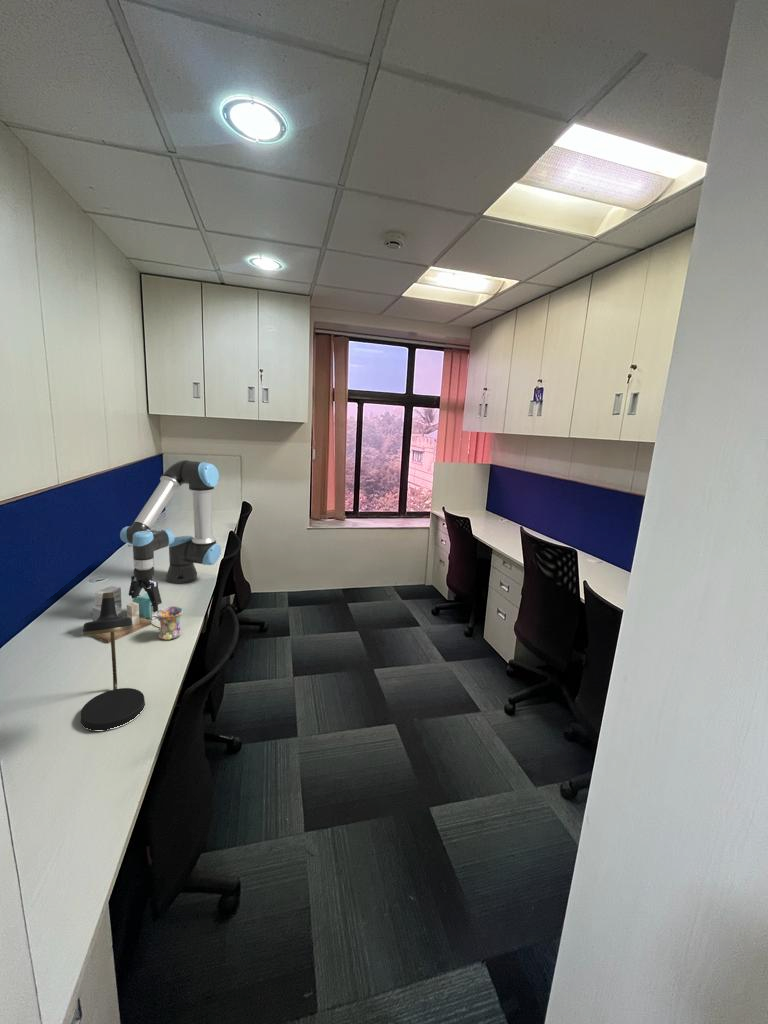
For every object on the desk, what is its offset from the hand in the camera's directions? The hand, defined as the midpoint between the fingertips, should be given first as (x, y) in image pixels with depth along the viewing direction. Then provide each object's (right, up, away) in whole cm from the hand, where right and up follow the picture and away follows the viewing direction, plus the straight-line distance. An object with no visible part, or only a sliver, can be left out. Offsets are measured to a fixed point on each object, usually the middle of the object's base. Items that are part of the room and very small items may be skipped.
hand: (145, 614), depth 180 cm
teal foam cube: (0, 0, 0) cm, 0 cm away
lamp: (+23, -15, -56) cm, 62 cm away
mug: (+17, -5, -15) cm, 23 cm away
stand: (-3, -3, -13) cm, 13 cm away
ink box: (-14, 0, -2) cm, 14 cm away
